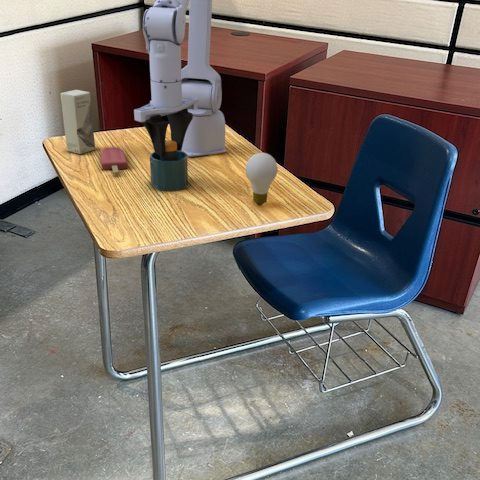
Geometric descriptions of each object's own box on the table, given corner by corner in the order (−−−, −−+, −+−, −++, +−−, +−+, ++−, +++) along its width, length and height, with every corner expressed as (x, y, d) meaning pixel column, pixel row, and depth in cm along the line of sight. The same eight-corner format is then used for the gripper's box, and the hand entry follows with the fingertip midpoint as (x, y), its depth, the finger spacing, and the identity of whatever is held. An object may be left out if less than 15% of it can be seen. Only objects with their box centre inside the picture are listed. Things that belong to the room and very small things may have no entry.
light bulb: (239, 207, 114) (241, 155, 109) (250, 196, 119) (252, 146, 113) (269, 213, 113) (272, 160, 107) (278, 201, 117) (282, 151, 112)
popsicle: (102, 170, 124) (99, 147, 137) (103, 177, 125) (99, 154, 137) (128, 168, 126) (122, 146, 138) (129, 175, 126) (123, 153, 139)
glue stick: (169, 168, 124) (168, 139, 121) (181, 172, 122) (180, 143, 119) (157, 172, 122) (155, 142, 118) (168, 176, 120) (167, 146, 117)
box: (80, 155, 136) (73, 96, 129) (66, 151, 138) (58, 93, 131) (96, 149, 140) (90, 91, 133) (82, 145, 142) (76, 88, 135)
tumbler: (179, 175, 127) (179, 147, 124) (193, 187, 122) (193, 158, 119) (146, 180, 125) (144, 152, 121) (158, 193, 119) (157, 163, 116)
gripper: (179, 70, 119) (181, 139, 126) (121, 81, 110) (126, 155, 117) (205, 76, 115) (205, 147, 123) (147, 88, 106) (150, 164, 113)
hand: (168, 151), depth 120 cm, fingers open, 4 cm apart
